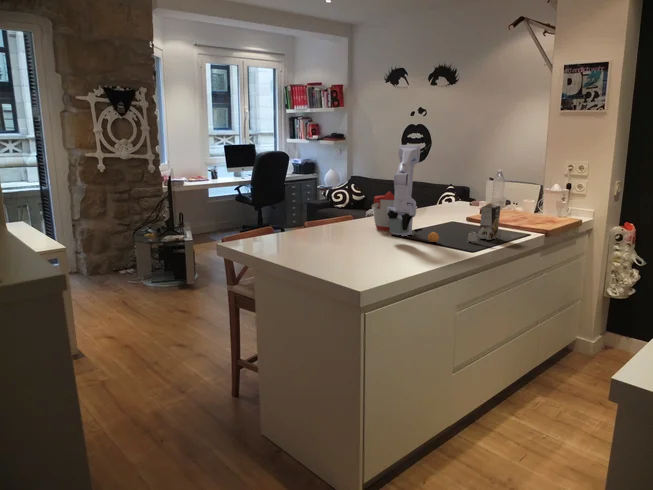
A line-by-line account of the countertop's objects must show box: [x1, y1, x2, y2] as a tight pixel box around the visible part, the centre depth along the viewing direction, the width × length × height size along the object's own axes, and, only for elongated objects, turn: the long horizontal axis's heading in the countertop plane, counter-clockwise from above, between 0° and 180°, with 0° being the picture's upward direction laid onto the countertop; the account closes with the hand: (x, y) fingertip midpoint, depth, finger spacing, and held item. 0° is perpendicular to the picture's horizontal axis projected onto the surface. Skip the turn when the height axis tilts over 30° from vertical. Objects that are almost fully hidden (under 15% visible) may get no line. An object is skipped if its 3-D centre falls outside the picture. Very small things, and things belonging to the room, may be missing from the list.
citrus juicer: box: [371, 190, 395, 232], centre depth 266 cm, size 16×17×20 cm
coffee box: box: [478, 204, 501, 239], centre depth 248 cm, size 9×6×16 cm
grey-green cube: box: [389, 217, 409, 234], centre depth 235 cm, size 6×6×6 cm
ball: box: [427, 231, 440, 243], centre depth 238 cm, size 5×5×5 cm
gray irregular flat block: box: [467, 227, 485, 241], centre depth 238 cm, size 7×2×8 cm, turn 51°
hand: (399, 228), depth 235 cm, fingers closed on grey-green cube, 6 cm apart
